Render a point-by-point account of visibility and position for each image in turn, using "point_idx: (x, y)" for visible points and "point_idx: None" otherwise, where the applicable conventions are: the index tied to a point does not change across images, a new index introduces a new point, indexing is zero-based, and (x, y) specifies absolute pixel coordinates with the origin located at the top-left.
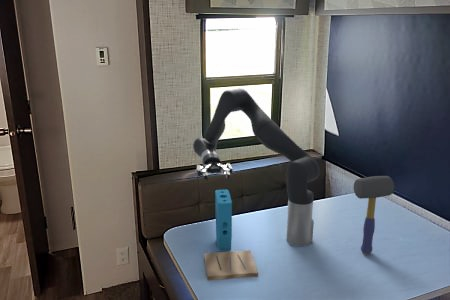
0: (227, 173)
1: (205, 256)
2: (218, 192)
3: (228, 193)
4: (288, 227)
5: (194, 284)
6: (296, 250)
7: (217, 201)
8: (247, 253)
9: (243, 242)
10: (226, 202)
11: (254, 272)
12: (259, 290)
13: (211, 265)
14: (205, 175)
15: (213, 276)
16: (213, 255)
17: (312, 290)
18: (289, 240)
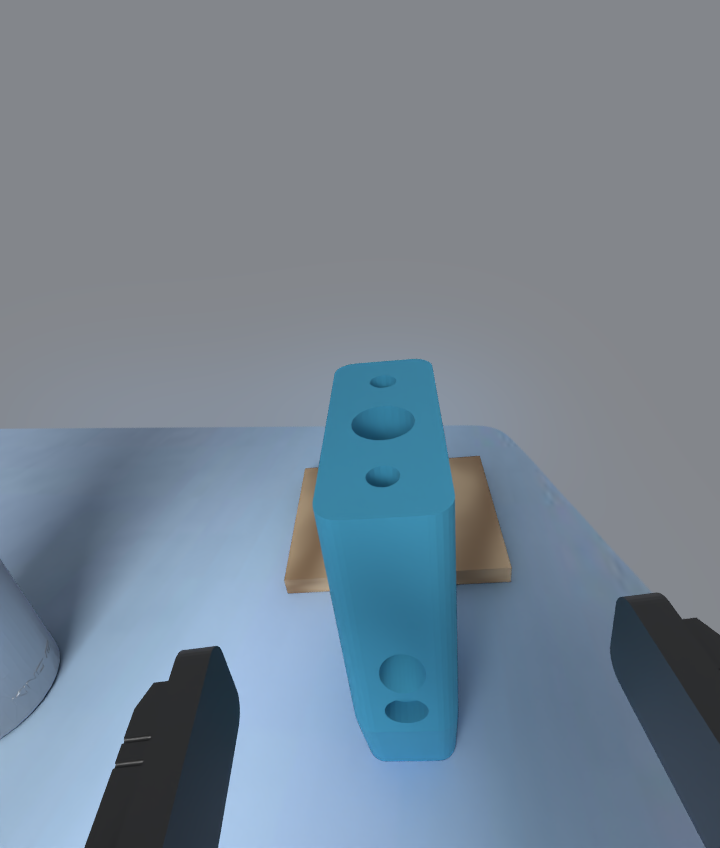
0: (194, 675)
1: (502, 549)
2: (421, 470)
3: (328, 455)
4: (16, 614)
5: (521, 455)
6: (75, 606)
7: (434, 381)
8: (307, 559)
9: (289, 698)
10: (372, 367)
11: (317, 468)
12: (323, 438)
13: (469, 499)
14: (678, 636)
15: (458, 459)
16: (464, 554)
17: (185, 439)
18: (52, 649)
